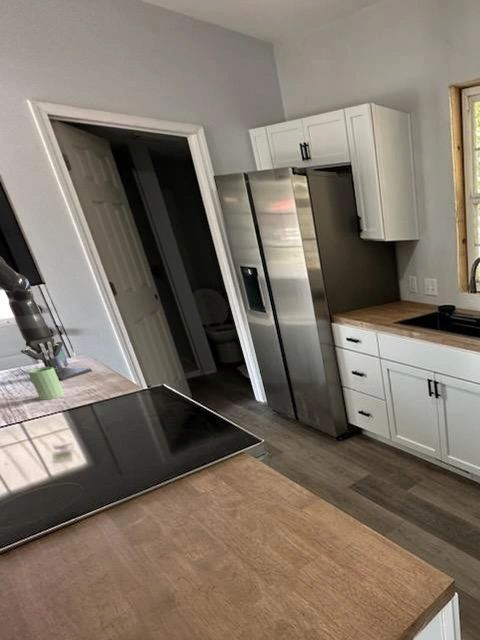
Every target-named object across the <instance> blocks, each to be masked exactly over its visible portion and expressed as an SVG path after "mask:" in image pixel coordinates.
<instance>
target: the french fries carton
mask: <svg viewBox="0 0 480 640" xmlns="http://www.w3.org/2000/svg"><path fill="white" fill-rule="evenodd" d="M54 360H55V362H56V366H61V367H62V368H67V366H69V362H68V360H67V358H66V355H65V352H64V349H63V346H62V347H61V350H60V352H59V355H58V356H55V357H54Z"/></svg>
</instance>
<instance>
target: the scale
mask: <svg viewBox="0 0 480 640" xmlns="http://www.w3.org/2000/svg"><path fill="white" fill-rule="evenodd" d="M56 367H57V368H56V369H54V370H55V372H56V375H57V377H58V379H59V381H60V382H63V381H67V380H70V379H73V378H75V377H79V376H82V375H85V374H88V373H92V372H93V370H92V368H91V367H89V368H88V367H87V368H85V367H84V368H83V367H66V368H62V367H61V366H56Z"/></svg>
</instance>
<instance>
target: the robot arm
mask: <svg viewBox="0 0 480 640" xmlns="http://www.w3.org/2000/svg"><path fill="white" fill-rule="evenodd" d="M0 289H2V290H3V291H4V293H5V295H6V297H7V299H8V306H9V308H10V310H11V313H12V315H13V317H14V321H15V323H16V326H17V328H18V330H19V332H20V334H21V336H22V339H23V340H24V341H25V348H24V349H21V350H20V352H21V353H22V354H24V355H26V356H28V357H29V358H31V359H33V360H36V361H42V362H43V365H44V367H53V368H56V362H55V360H54V357H55V356H58V355H59V352H60V350H61V347H62V348H63V345H64V343H63V342H62V341H57V340H55V338H53V337H52V332H51V330H50V327H49V325H48V323H47V321H46V319H45V317H44V315H43V314H42V312H41V309H40V307H39V306H38V303H37V301H36V300H35V297H34V293H33V289H32V286H31V284H30V282H29V280H28V278H26V276H24V275H23V274H21V273H18V272H17V271H15V269H13V268H12V267H10V266H9V264H7V263H6V261H5V259H4V258H3V257H2V256H1V255H0Z"/></svg>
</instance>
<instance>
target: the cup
mask: <svg viewBox="0 0 480 640" xmlns="http://www.w3.org/2000/svg"><path fill="white" fill-rule="evenodd" d="M27 375H28V377H29V379H30V380H31V383H32V384H33V387H34V389H35V391H36V394H37V396H38V398H39V400H41V401H47V400H53V399H57V398H60V397H63V396H65V394H66V393H65V390H64V388H63V386H62V384H61V381H59V379H58V377H57V375H56V372H55V370H54V368H53V367H45V366H44V367H38V368H34V369H30V370H28V371H27Z"/></svg>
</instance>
